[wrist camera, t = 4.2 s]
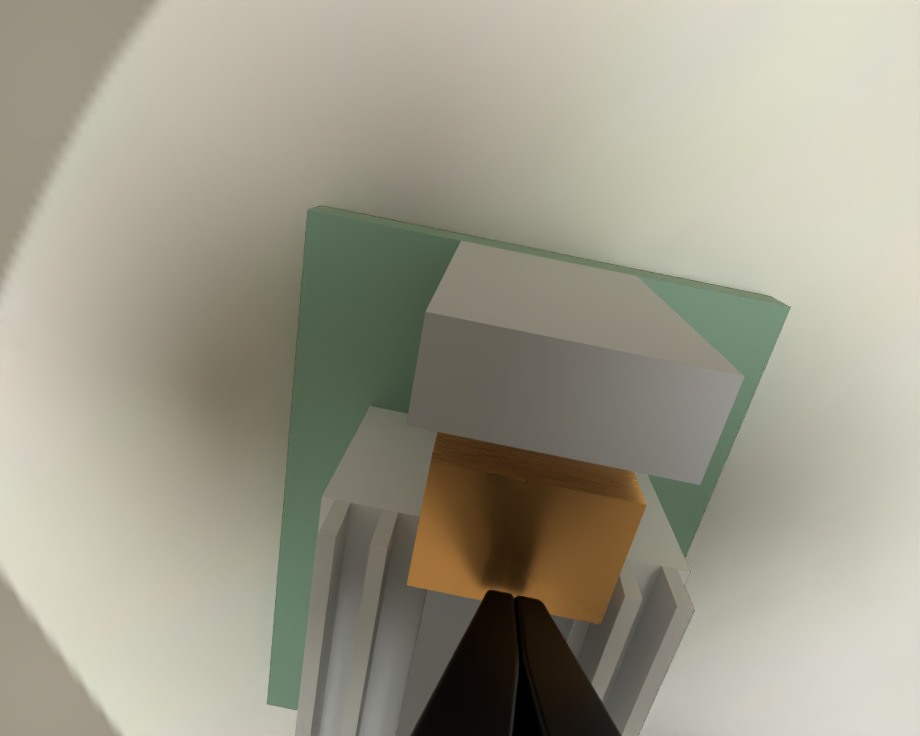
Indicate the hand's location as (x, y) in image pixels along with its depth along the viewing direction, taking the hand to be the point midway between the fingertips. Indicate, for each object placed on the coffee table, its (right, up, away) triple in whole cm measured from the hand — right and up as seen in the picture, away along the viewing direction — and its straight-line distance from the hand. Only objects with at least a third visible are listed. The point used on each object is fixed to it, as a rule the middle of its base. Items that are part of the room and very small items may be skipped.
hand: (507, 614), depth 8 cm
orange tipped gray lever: (-1, -3, +3) cm, 4 cm away
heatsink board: (0, -1, +8) cm, 8 cm away
